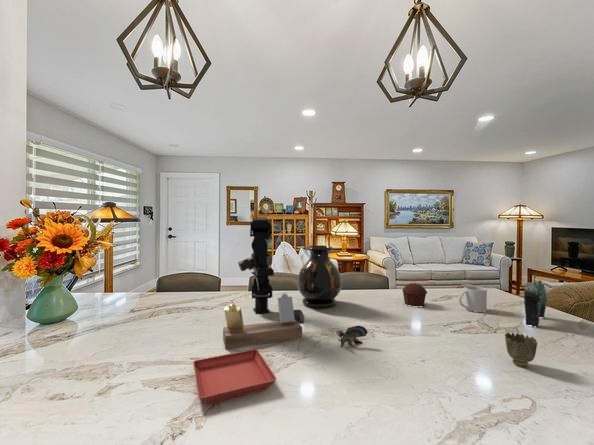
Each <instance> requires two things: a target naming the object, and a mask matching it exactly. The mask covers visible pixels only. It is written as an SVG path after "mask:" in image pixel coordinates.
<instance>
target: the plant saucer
mask: <svg viewBox="0 0 594 445" xmlns="http://www.w3.org/2000/svg"><path fill="white" fill-rule="evenodd" d="M192 364H193V366H192V367H193V371H194V378H195V383H196V384H195V385H196V391H197V398H199V400H200V401H202V402H203V403H205V404H209V405H210V404H212V403H217V402H221V401H225V400H229V399H232V398H233V399H234V398H237V397H240V396H245V395H249V394H254V393H258V392H261V391H265V390H268V389H269V388H270V387H272V385H273V384H274V383H275V382H276V381H277V376H276V375H275V374H274V372H273V371H272V369H271V368H270V366H269V365H268V363H267V362H266V360H265V358H264V357H263V356H262V354H261V353H260V351H259V349H257V348H255V349H254V348H253V349H250V350H249V349H248V350H244V351H239V352H232V353H228V354H222V355H217V356H212V357H207V358H201V359H198V360H197V359H196V360H193V361H192Z"/></svg>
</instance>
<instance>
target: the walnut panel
mask: <svg viewBox="0 0 594 445" xmlns="http://www.w3.org/2000/svg"><path fill="white" fill-rule="evenodd" d="M222 339H223V340H222V341H223V345H224V349H225V350H229V349H235V348H241V347H242V348H243V347H248V346H257V345H264V344H272V343H278V342H287V341H295V340H302V339H303V326H302V325H301V323H298V322H297V321H296V320H295V321H294V322H285V323H280V320H277V321H269V322H261V323H253V324H252V323H251V324H244V329H243V331H236V330H228V327H227V326H226V327H222Z"/></svg>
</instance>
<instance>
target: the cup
mask: <svg viewBox="0 0 594 445" xmlns="http://www.w3.org/2000/svg"><path fill="white" fill-rule="evenodd" d="M504 338H505V339H504V340H505V347H506V350H507V353H508V355H509V356H510V358H512V363H513V364H514V365H515V366H518V367H521V368H527V367H528V366H529V365H530V364H529V363H530V362H532V361H534V359H535V356H536V352H537V348H538V343H539V342H538V341H537V339H536V338H534V336H530V337H529V335H528V334H527V335H525V336H524V334H523V333H519V332H516V334H515V333H514V332H506V333H505V334H504Z"/></svg>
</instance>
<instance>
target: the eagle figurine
mask: <svg viewBox="0 0 594 445" xmlns="http://www.w3.org/2000/svg"><path fill="white" fill-rule="evenodd" d="M335 332H336V333H335V334H336V335H337V336H338V337H339V338H340V339H339V338H338V339H337V340H338V341H339V342H340V348H342V347H343V346H345V343H346V342H347V343H349V344H350V345H352V346H353V347H354V348H356V343H355V341H356V342H359V343H361V344H363V341H361V340H359V338H361V337H362V338H363V337H366V336H367V335H368V332H369V331H368V330H367V328H365V326H362V325H354V326H350V327H348V328H347V329H346V330H345V332H344V331H343V330H341V329H337V330H336V331H335Z"/></svg>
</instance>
